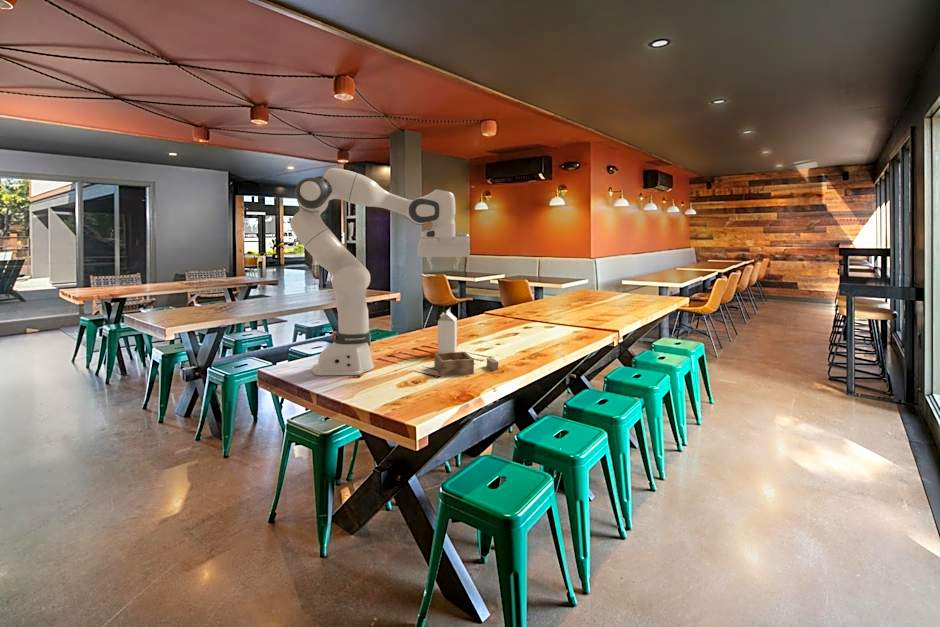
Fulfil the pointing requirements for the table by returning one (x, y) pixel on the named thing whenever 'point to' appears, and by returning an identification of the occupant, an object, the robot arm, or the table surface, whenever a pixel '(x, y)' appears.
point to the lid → (492, 364)
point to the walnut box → (453, 363)
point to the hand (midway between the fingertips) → (443, 268)
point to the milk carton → (447, 333)
